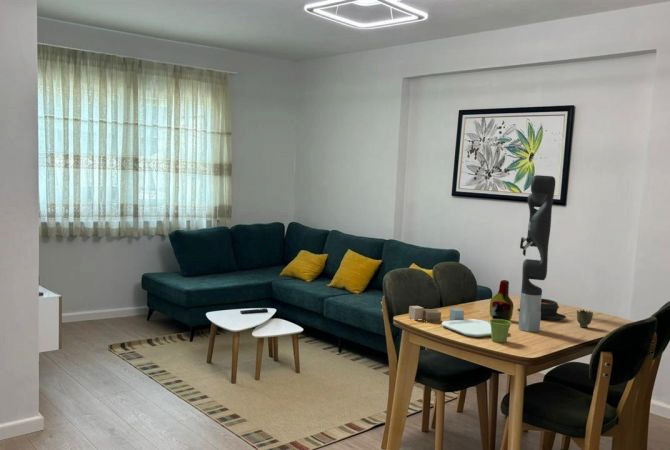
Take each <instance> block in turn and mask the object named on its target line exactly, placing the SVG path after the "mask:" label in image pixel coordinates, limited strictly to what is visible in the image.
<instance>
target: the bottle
mask: <svg viewBox="0 0 670 450" xmlns="http://www.w3.org/2000/svg"><path fill="white" fill-rule="evenodd" d="M509 285H510V281H508V280H507V279H502V280H500V282H499V287H498V288H499V289H498V291H497V293H496V294H495V295H493V296H492V297H491V298H490V302H489V315H490V316H491V319H502V320H507V321H511V320H512V317H513V313H514V312H513V311H514V303H513V300H512V299H511V297H510V295H509V288H510V286H509Z"/></svg>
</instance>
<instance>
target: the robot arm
mask: <svg viewBox="0 0 670 450" xmlns="http://www.w3.org/2000/svg"><path fill="white" fill-rule="evenodd" d="M555 190H556V178H555V176H552V175H542V174H541V175H539V174H538V175H537V174H535V175H534V176H532V177H531V181H530V194H529V195H528V197H527V204H528V209H529V221H528V224H527V237H523V236H522V237H521V238H520V244H519V248H520V249H521V250H522V255H523V256H524V257H526V252H527V249H528V248H530V247H535V248H537V250H538V253H539V257H540V259H532V258H531V259H528V258H526V259H524V260H523V263H522V279H521V280H522V281H521V292H520V293H521V294H520V301H519V302H520V304H519V308H520V312H519V313H518V314H519V317H518V327H517V328H518V329H519V330H521V331H525V332H527V333H528V332H529V333H536V332H537V333H539V332H540V331H541V320H542V319H541V312H540V309H541V299H542V296H543V290H542V288H541V287H539V286H538V285H535V284H533V283H532V282H531V281H530V280H537V281H545V280H546V278H547V274H548V261H549V259H548V258H549V256H548V255H549V242H550V235H551V227H552V225H551V224H552V213H553V211H552V209H553V203H554V202H553V201H554V198H555V197H554V196H555ZM537 208H538V209H537ZM525 242H526V243H525ZM524 243H525V245H524Z"/></svg>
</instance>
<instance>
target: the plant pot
mask: <svg viewBox="0 0 670 450" xmlns="http://www.w3.org/2000/svg"><path fill="white" fill-rule="evenodd" d="M488 321H489V323H490V325H491V335H492V336H491V340H492V342H494V343H498V344H499V343H500V344H501V343H504V344H505V343H506V342H507V340H508V335H509V330H510V327H511V325H512V323H513V322H512V321H511V320H508V321H507V320H502V319H495V318H491V319H489V320H488Z"/></svg>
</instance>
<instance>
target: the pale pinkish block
mask: <svg viewBox="0 0 670 450" xmlns="http://www.w3.org/2000/svg"><path fill="white" fill-rule="evenodd" d="M424 309H425V308H424V307H422V306H419V305H409V307H408V319H409V318H411V319H410V320H412V319H414V320H417V321H419V320H418V319H423V313H424ZM414 320H413V321H414Z"/></svg>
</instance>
